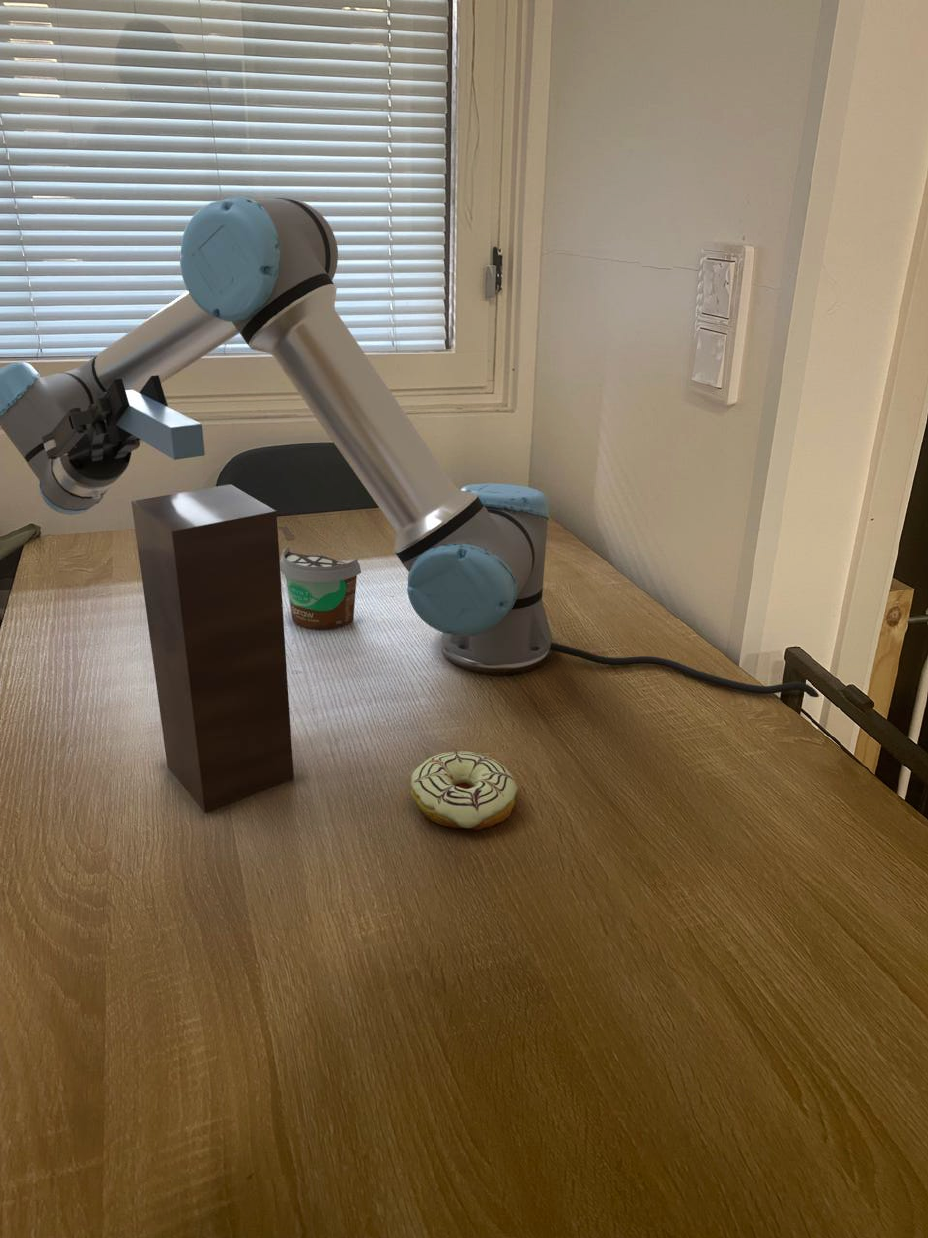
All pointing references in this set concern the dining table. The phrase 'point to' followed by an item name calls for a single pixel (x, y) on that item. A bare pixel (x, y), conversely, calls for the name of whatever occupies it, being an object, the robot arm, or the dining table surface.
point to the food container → (320, 590)
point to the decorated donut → (463, 790)
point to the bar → (162, 427)
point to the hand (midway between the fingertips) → (140, 390)
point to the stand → (217, 640)
